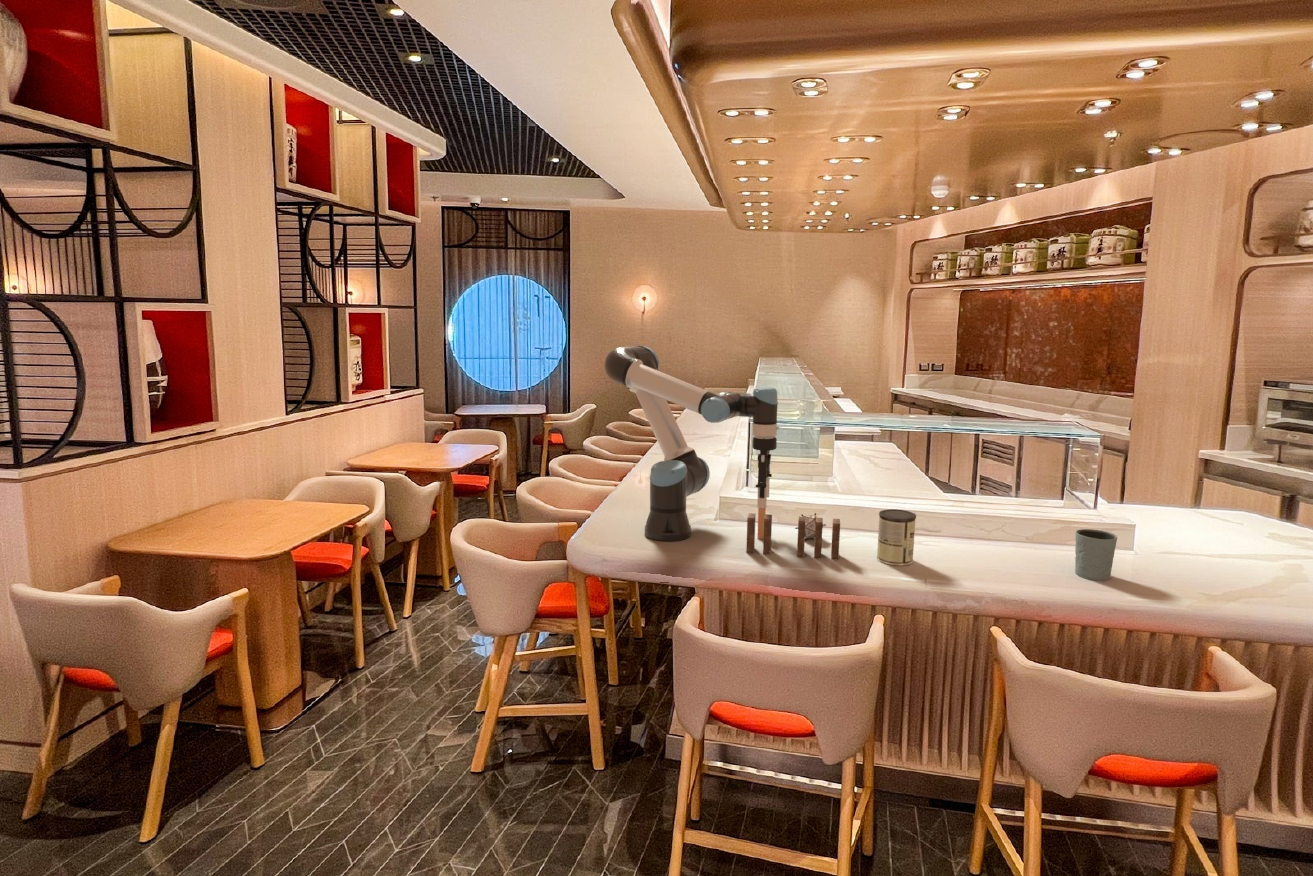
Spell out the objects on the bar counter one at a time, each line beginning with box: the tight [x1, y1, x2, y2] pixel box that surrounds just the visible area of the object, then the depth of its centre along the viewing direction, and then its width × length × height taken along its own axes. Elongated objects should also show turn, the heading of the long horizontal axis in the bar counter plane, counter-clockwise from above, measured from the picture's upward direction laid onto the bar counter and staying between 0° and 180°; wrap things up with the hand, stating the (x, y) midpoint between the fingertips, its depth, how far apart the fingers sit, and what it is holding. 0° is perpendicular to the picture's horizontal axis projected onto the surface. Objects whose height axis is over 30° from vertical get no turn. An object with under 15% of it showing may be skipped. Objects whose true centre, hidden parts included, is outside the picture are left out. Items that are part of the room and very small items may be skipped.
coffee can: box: [876, 508, 917, 567], centre depth 223 cm, size 10×10×14 cm
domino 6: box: [830, 518, 841, 561], centre depth 225 cm, size 2×5×11 cm, turn 168°
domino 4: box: [796, 516, 806, 558], centre depth 227 cm, size 2×5×11 cm, turn 168°
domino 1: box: [745, 512, 756, 554], centre depth 230 cm, size 2×5×11 cm, turn 168°
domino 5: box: [813, 517, 824, 559], centre depth 226 cm, size 2×5×11 cm, turn 168°
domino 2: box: [757, 507, 767, 540], centre depth 244 cm, size 2×5×11 cm, turn 168°
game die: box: [794, 512, 827, 541], centre depth 243 cm, size 9×8×10 cm
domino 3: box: [762, 514, 773, 555], centre depth 229 cm, size 2×5×11 cm, turn 168°
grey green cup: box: [1074, 528, 1118, 582], centre depth 212 cm, size 10×10×12 cm
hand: (763, 502), depth 243 cm, fingers open, 13 cm apart
